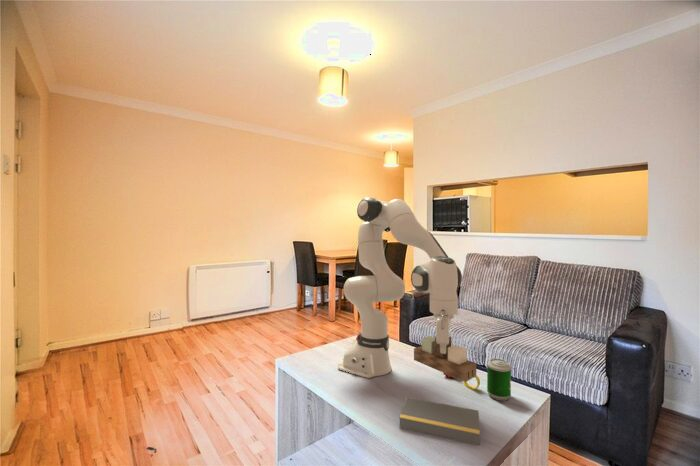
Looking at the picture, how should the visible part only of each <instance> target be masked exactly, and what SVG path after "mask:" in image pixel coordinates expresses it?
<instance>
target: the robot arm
mask: <svg viewBox="0 0 700 466" xmlns="http://www.w3.org/2000/svg"><path fill="white" fill-rule="evenodd" d="M356 213H357V216H358V218H359V219H360V220H362V221H363V222H362V224H360V225H359V228H358V235H357V236H358V237H357V245H358V247H357V249H358V259H359V260H358V261H359V264H360V265H361V266H362V267H363V268H365V269H366V270H369V271H370V272H372V274H373V275H357V276H352V277H349V278H347V279H346V281H345V282H344V284H343V294H344V297H345V299H346V300H347V301H348V302H350V303H351V304H352V305H353V306H354V307H355V308H356V310H357V311H358V314H359V318H360V331H359V332H358V334H357V335H356V337H355V341H356V342H355V343H354V344H352V345H351V346H349V347H348V348H347V349H346V351H345V352H344V355H343V358H342V359H341V360H340V361H339V362H338V364H337V369H338V370H339V369H340V370H339V371H341V370H343V371H342V372H345V371H346V372H345V373H348V372H349V374H352V375H355V374H356V376H360V377H362V378H363V377H364V378H366V379H371V378H374V377H378V376H385V375H387V374H389V373H391V371H392V369H393V368H392V367H393V366H392V365H391V360H390V353H389V348H390V337H389V336H390V335H389V333H388V331H389V329H388V327H389V326H388V325H389V323H388V322H389V321H388V320H389V319H388V316H387V314H386V313H385V312H384V311H382V310H380V309H378V308H376V307H374V304H375V303H386V302H388V303H389V302H394V301H398V300H401V299H403V297H404V295H405V291H406V284H405V282H404V280H403V279H402V277H400V276H398V274H396V273H394V271H392V270H391V268H390V267H389V265H388V263H387V259H386V256H385V250H384V241H383V232H386V233H389V232H391V234H392V236H393V238H394V239H395V240H396V241H397V242H399V243H400V244H403V245H406V246H412V247H415V248H418V249H420V250H422V251H424V252H425V253H426V254H427V257H429V258H430V260H429V261H428V262H426V263H423V264H419V265H416V266H414V268H413V269H412V271H411V274H410V281H411V285H412V287H413V288H414V289H415V291H417V292H420V293H429V312H430V313H432V314H433V318H435V319H436V322H435V323H436V325H435V334H436V336H435V337H436V342H437V344H440V353H442V354H446V345H448V344H449V336H450V332H451V331H450V330H451V320H453V319H454V317H455V316H454V315H457V314H458V313H459V306H458V305H459V304H458V303H459V302H458V301H459V299H458V292H457V291H458V289H459V287H460V286H461V284H462V281H463V273H462V271H461V270H460V268H459V267H458V266H457V263H456V260H455V259H453V258H451V257H449V256H448V254H447V253H446V252H445V250H444V249H443V248H442V245H440V243H439V242H438V240H437V239H436V238H435V236H434V235H433V234H432V233H431V232H430V231H428V230H427V229H426V228H425V227H424V226H423V225H422V224H421V223H420V222H419V221H418V219H417V218H416V216H415V214H414V212H413V211H412V209H411V207H410V206H409V205H408V203H407V202H406V201H404V200H403V199H401V198H395V199H391V200H390V201H386V200H382V199H377V198H374V197H364V198H362V199H361V200H360V202H359V203H358V205H357V210H356Z"/></svg>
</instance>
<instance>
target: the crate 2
mask: <svg viewBox="0 0 700 466" xmlns="http://www.w3.org/2000/svg"><path fill="white" fill-rule="evenodd" d="M467 351H468V350H467V348H466V347H463V346H460V345H457V344H455V345H451V347H448V360H449V361H451V362H454V363H456V364H461V363H464V362H466V361H467V360H468V359H467V353H468V352H467Z"/></svg>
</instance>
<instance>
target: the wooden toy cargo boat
mask: <svg viewBox="0 0 700 466" xmlns="http://www.w3.org/2000/svg"><path fill="white" fill-rule="evenodd" d="M434 338H435V353H433V354H430V353H428V352H425V351H423V350H422V345H421V346H418V347H414V348H413V361H415V362H417V363H420V364H423V365H424V366H427V367H429V368H432V369H434V370H436V371H439V372H441V373H445V374H448V375H450V376H451V378H455V379H457V380H458V381H459V380H460V381H462V382H463V383H464V382H468V381H470V380H472V379H473V378H475V377H476V375H477V363H476V362H473V361H471V360H468V359H467V361H466V362H464V363H461V364H456V363H454V362H451V361H449V360H448V347H451V346H452V336H450V335H449V344H448V345H446V354H442V353H440V344H437V342H436V336H435V337H434Z"/></svg>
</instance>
